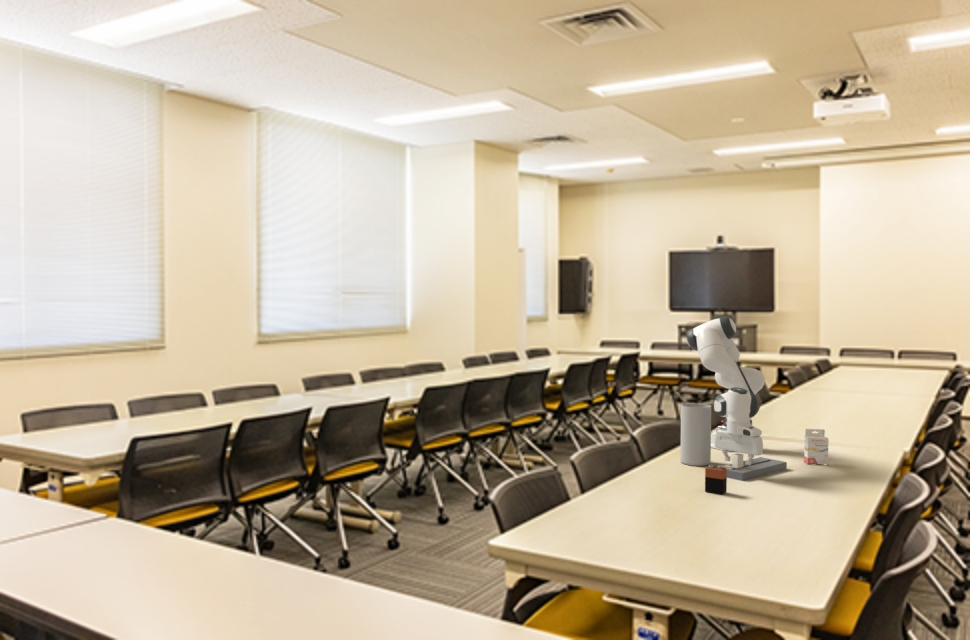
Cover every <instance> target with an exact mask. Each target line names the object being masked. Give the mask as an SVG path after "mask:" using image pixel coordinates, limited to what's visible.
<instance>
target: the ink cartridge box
mask: <svg viewBox="0 0 970 640" xmlns="http://www.w3.org/2000/svg"><path fill="white" fill-rule="evenodd" d="M804 432H805V434H804V448H803V449H804V453H803V455H804V457H803V462H804V463H805V462H806V463H807V464H806V463H805V464H806V465H810V464H828V465H829V437H827V436H825V434H826V433H825V432H826V431H825V429H822V428H806V429H805V431H804Z"/></svg>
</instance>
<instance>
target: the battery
mask: <svg viewBox="0 0 970 640" xmlns="http://www.w3.org/2000/svg"><path fill="white" fill-rule="evenodd" d="M723 466H724V465H721V464H720V465H717V466H714V465H713V464H709V465H707V466H705V467H704V468H705V469H704V471H705V472H704V492H706V493H709V494H716V495H724V494H726V493H727V486H728V485H727V483H728V481H727V479H728V477H727V469H726V468H723Z"/></svg>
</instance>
